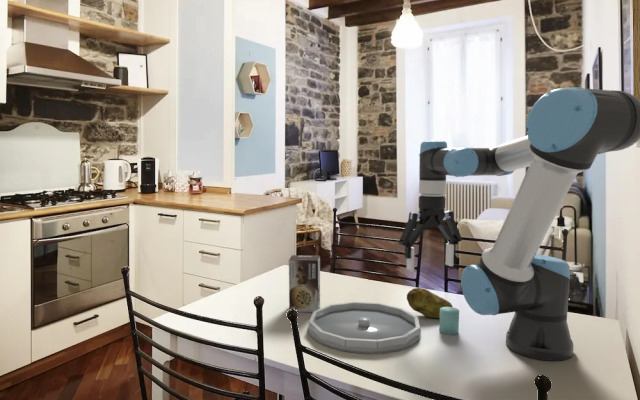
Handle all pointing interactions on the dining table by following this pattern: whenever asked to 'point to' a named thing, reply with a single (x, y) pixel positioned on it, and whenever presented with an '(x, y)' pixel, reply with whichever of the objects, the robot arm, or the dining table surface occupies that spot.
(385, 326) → the ring tray
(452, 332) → the bead
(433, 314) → the potato
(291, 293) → the coffee box
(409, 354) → the dining table surface
